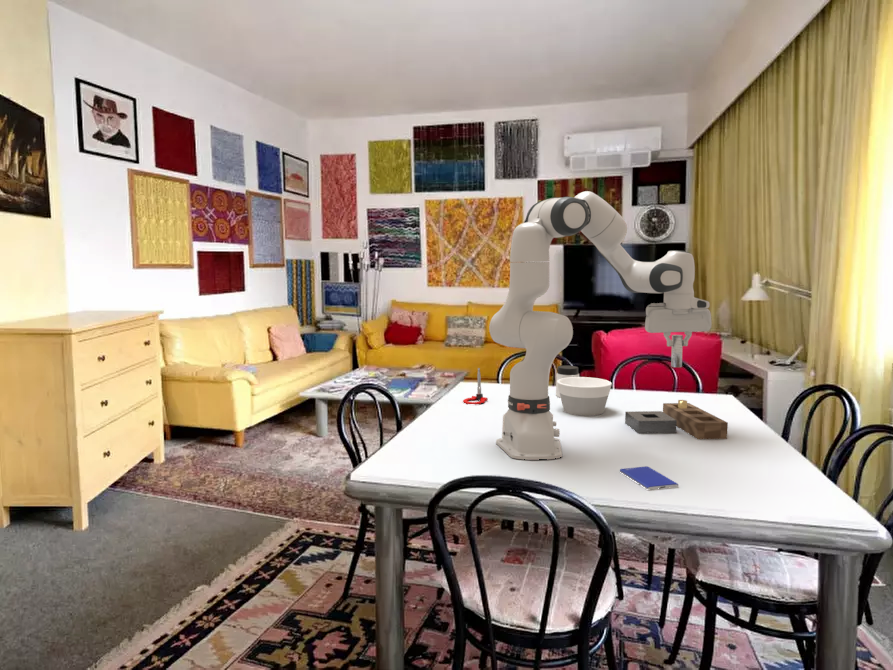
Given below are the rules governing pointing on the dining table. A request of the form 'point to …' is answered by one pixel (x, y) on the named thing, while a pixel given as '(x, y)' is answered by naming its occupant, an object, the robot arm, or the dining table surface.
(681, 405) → the cylinder
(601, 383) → the bowl
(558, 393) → the jar
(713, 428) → the rack
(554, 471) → the dining table surface
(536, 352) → the robot arm
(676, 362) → the steel peg
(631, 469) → the hard drive
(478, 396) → the tow hook
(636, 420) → the socket block
